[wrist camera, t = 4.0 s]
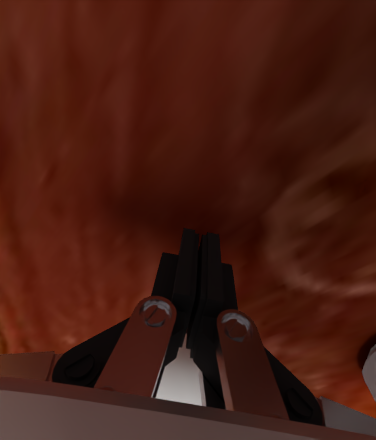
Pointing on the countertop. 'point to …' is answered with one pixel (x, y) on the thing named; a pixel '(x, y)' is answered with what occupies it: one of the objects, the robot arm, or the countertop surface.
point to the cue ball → (181, 379)
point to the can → (370, 371)
